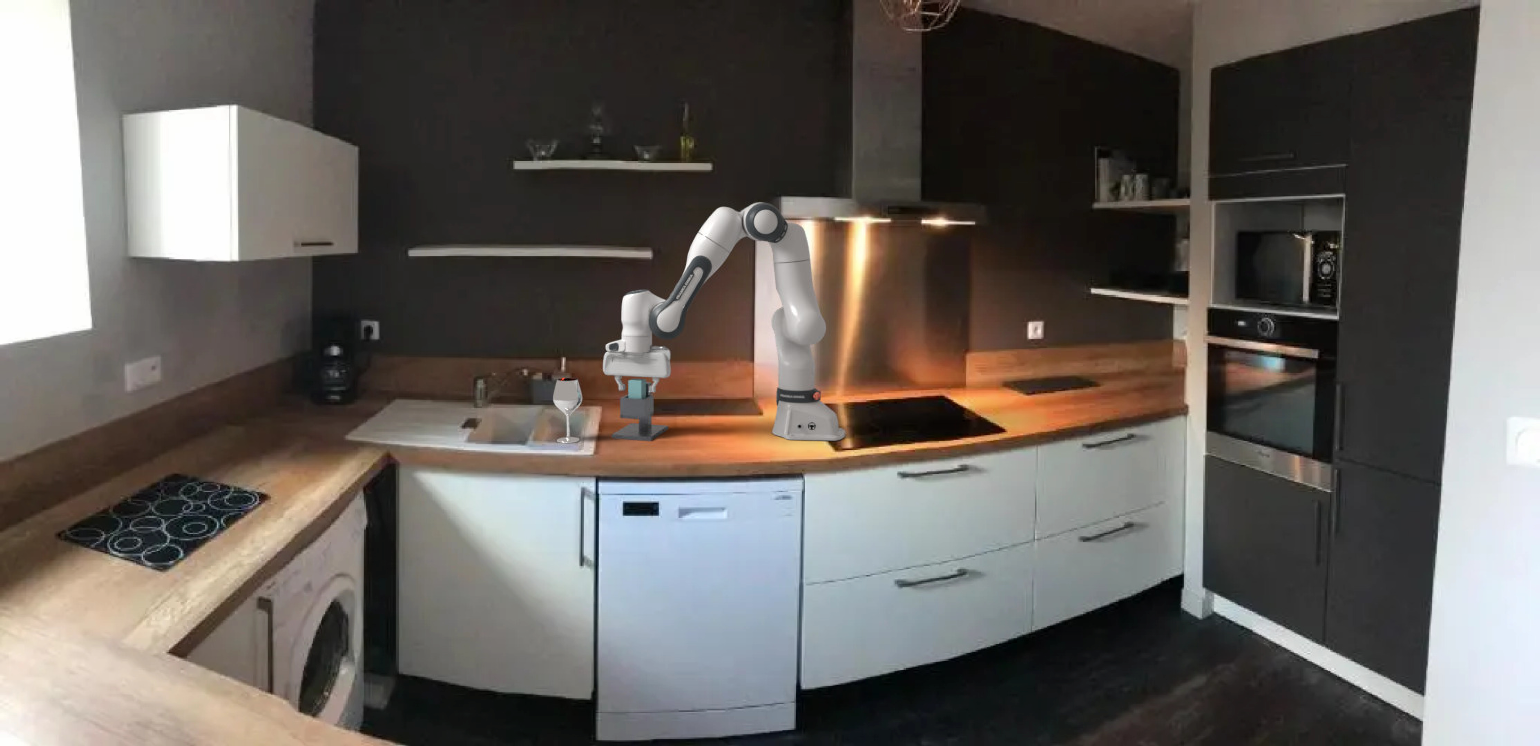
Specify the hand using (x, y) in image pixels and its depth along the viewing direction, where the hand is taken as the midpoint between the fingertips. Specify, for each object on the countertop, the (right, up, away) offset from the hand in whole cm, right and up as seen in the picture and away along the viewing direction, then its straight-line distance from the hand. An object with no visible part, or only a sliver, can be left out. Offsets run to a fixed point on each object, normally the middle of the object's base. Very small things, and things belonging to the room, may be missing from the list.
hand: (637, 391), depth 256 cm
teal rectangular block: (0, -7, +1) cm, 7 cm away
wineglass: (-19, -14, -5) cm, 25 cm away
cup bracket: (0, -13, +5) cm, 14 cm away
